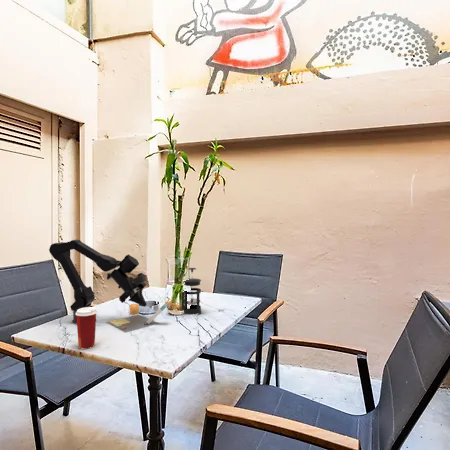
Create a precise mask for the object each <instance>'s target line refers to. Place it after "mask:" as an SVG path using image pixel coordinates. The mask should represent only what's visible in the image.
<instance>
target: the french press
mask: <svg viewBox="0 0 450 450" xmlns="http://www.w3.org/2000/svg"><path fill="white" fill-rule="evenodd" d="M188 270H190V271H191V273H193V272H194V270H197V268H196V267H189V269H188ZM188 279H189V280H186V281H183V285H184V286H186V287H190V288H191V290H190V291H188V292H187V291H184V290H183V289H182V290H183V291H184V292H183V291H181V310H182V311H183V310H184V313H183V314H185V315H197V316H199V315H201V314H202V306H201V305H200V303H201V299H200V294H202V293H201V292H202V289H201V288H198V287H197V286H200V285H201V281H202V280H201V279H200V278H193V277H191V278H188ZM184 282H185V284H184ZM187 294H188V295H196V298H193V297H191V298H190V299H191V300H190V301H187ZM187 304H188V305H190V304H191V306H190V309H187Z"/></svg>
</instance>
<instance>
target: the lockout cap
mask: <svg viewBox="0 0 450 450" xmlns="http://www.w3.org/2000/svg"><path fill="white" fill-rule="evenodd" d="M129 315H132V316H135V315H140V304H137V303H131V304H129Z"/></svg>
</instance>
